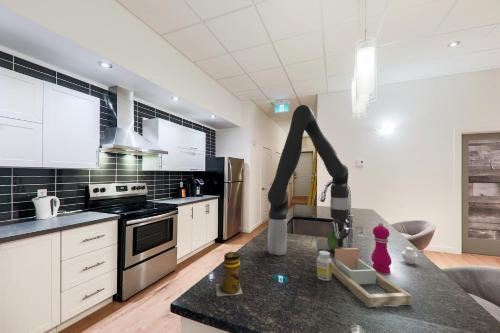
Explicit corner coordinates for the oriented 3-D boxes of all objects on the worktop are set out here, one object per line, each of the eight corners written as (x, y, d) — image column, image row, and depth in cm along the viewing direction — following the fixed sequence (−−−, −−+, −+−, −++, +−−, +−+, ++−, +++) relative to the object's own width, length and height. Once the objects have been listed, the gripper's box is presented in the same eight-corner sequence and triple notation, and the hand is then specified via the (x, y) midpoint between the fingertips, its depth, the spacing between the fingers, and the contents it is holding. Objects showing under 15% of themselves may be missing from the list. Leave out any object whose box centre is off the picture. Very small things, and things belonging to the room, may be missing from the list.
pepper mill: (388, 267, 89) (388, 221, 90) (394, 275, 83) (393, 225, 83) (369, 265, 92) (369, 219, 92) (373, 272, 85) (373, 223, 86)
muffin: (402, 263, 94) (402, 248, 94) (400, 258, 99) (400, 244, 99) (420, 266, 91) (419, 250, 91) (416, 261, 96) (416, 246, 97)
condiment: (242, 294, 69) (243, 257, 69) (217, 297, 67) (217, 259, 67) (238, 282, 76) (239, 249, 76) (215, 285, 74) (216, 251, 74)
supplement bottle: (320, 281, 77) (320, 255, 78) (314, 274, 83) (314, 250, 83) (334, 280, 78) (334, 255, 78) (327, 274, 83) (327, 249, 84)
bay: (368, 307, 62) (368, 297, 62) (328, 269, 87) (328, 262, 87) (411, 305, 64) (411, 295, 64) (359, 268, 89) (359, 260, 89)
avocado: (345, 253, 105) (345, 229, 105) (330, 253, 105) (330, 229, 106) (339, 247, 113) (339, 225, 113) (324, 247, 113) (324, 225, 114)
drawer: (350, 284, 75) (350, 259, 75) (334, 270, 86) (334, 248, 86) (376, 283, 76) (375, 258, 76) (357, 269, 87) (357, 248, 87)
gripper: (324, 205, 99) (325, 242, 98) (339, 210, 86) (340, 252, 85) (339, 205, 100) (339, 241, 99) (356, 209, 87) (357, 251, 86)
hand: (340, 246), depth 92 cm, fingers closed
